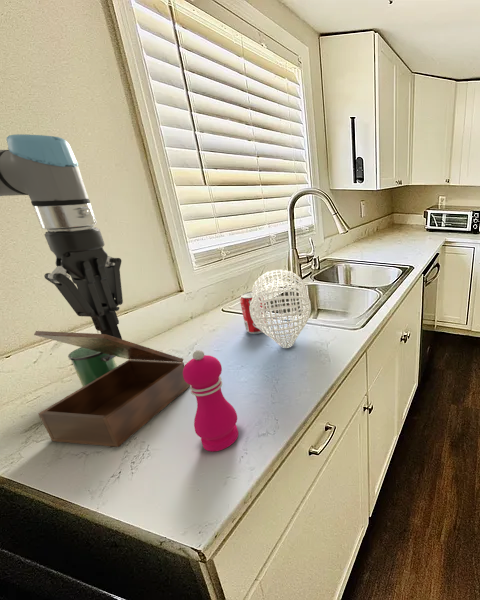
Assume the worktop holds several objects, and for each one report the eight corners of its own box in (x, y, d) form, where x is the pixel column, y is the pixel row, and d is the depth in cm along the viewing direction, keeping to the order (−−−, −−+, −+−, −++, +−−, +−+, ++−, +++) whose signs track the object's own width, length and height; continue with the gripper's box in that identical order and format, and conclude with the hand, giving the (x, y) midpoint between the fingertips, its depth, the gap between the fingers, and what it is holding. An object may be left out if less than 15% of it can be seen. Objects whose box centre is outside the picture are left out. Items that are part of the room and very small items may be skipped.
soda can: (255, 337, 105) (247, 299, 100) (241, 331, 109) (234, 295, 104) (273, 328, 111) (267, 293, 106) (260, 324, 114) (254, 289, 110)
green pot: (69, 393, 79) (53, 357, 75) (100, 375, 86) (86, 341, 82) (107, 395, 77) (93, 359, 74) (135, 377, 85) (123, 343, 81)
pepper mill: (219, 458, 60) (193, 365, 53) (191, 448, 62) (162, 357, 55) (249, 431, 66) (229, 344, 59) (222, 422, 68) (200, 338, 61)
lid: (103, 338, 59) (105, 334, 59) (33, 334, 61) (35, 330, 61) (182, 362, 78) (183, 359, 78) (127, 359, 80) (129, 356, 80)
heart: (261, 331, 109) (249, 267, 101) (308, 324, 114) (301, 262, 106) (258, 377, 84) (243, 296, 76) (319, 365, 89) (310, 288, 81)
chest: (118, 447, 63) (106, 418, 60) (52, 441, 64) (37, 413, 62) (190, 385, 81) (183, 362, 78) (137, 382, 82) (129, 359, 80)
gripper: (50, 234, 54) (100, 358, 62) (121, 223, 66) (154, 328, 74) (11, 234, 54) (65, 356, 63) (88, 223, 66) (125, 327, 75)
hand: (113, 341), depth 69 cm, fingers closed
